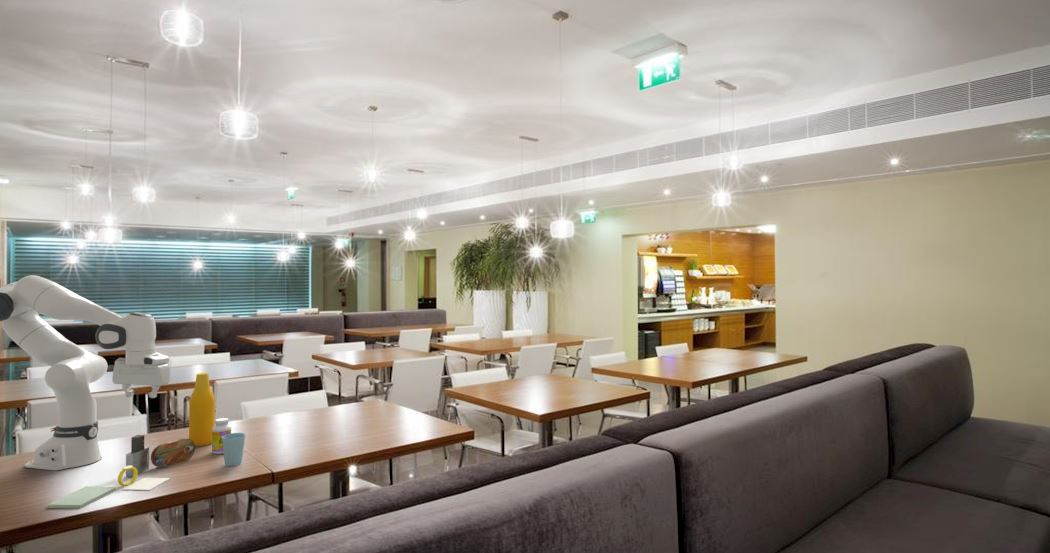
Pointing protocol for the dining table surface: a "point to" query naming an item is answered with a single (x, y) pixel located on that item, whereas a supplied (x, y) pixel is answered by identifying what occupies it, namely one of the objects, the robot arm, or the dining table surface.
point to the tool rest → (82, 497)
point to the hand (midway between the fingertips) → (141, 397)
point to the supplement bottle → (219, 434)
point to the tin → (172, 453)
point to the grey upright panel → (137, 456)
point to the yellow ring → (123, 473)
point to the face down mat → (146, 484)
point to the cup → (233, 448)
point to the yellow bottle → (201, 411)
